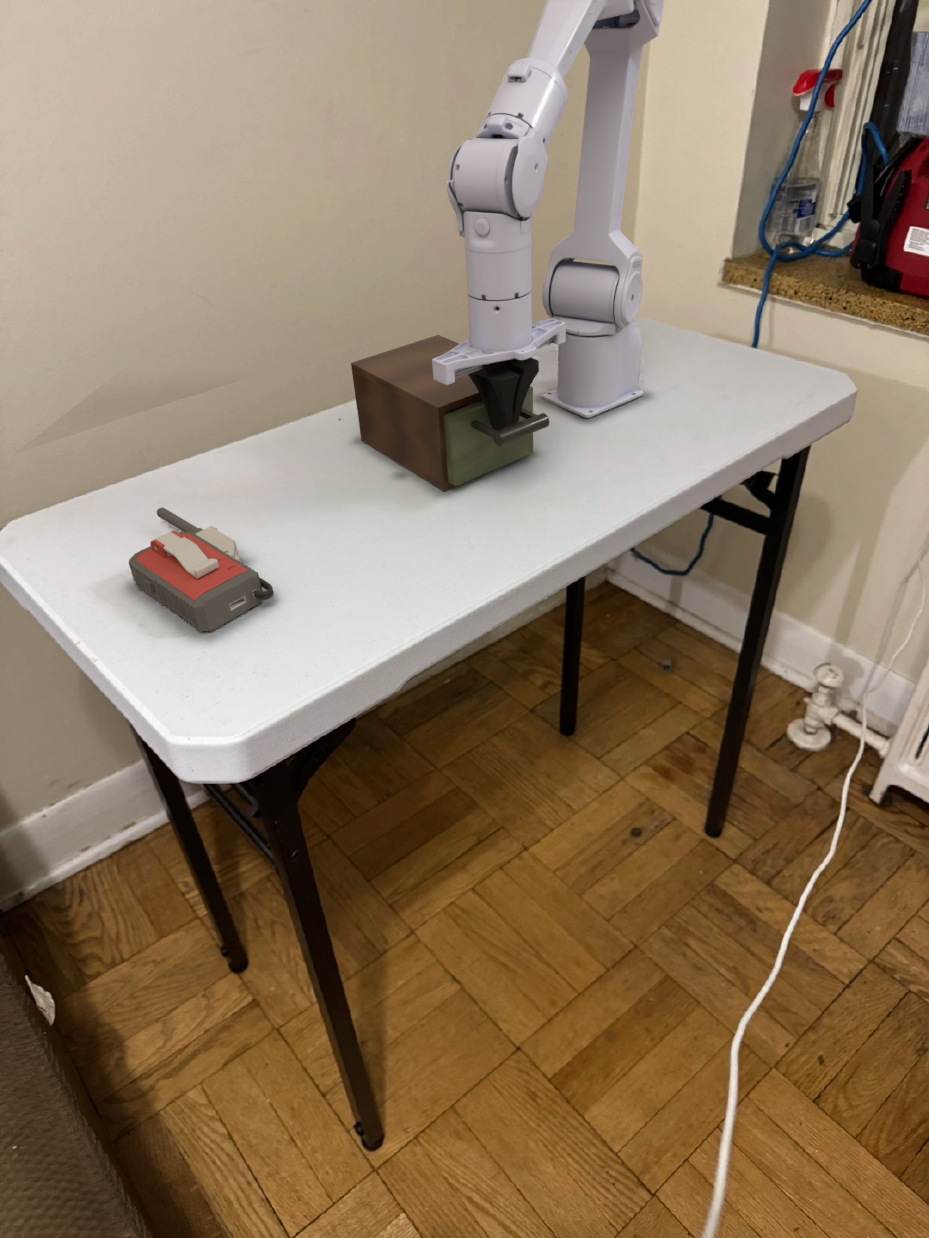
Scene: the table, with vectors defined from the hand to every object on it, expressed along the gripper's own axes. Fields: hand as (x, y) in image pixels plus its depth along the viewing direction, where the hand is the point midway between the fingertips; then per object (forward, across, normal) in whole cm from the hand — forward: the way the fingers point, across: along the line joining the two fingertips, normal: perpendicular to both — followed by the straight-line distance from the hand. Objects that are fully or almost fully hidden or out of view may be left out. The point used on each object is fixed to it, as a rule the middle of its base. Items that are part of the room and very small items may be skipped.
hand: (504, 432), depth 85 cm
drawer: (+5, 0, +6) cm, 8 cm away
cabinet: (+5, 0, +11) cm, 12 cm away
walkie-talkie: (+6, -32, +7) cm, 33 cm away
